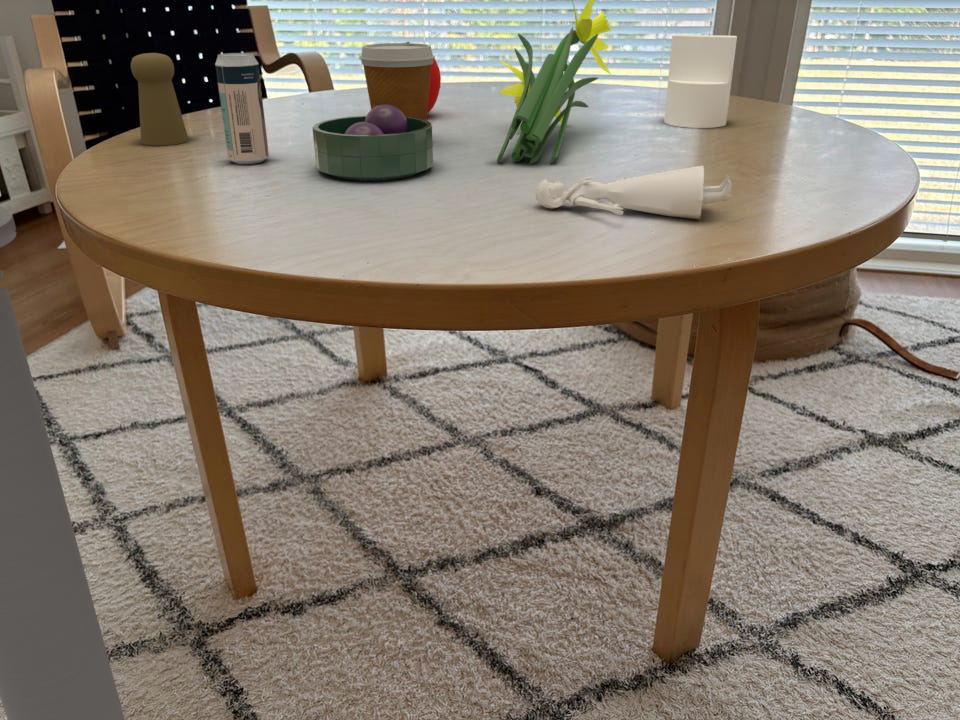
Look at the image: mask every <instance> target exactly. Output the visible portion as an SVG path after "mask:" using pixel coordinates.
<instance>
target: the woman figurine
mask: <svg viewBox="0 0 960 720" xmlns="http://www.w3.org/2000/svg"><path fill="white" fill-rule="evenodd" d="M725 176H726V177H725V179H723V181H722V182H721V184H720V185H708V186H707V185H706V186H705V185H704V182H705V181H704V180H705V166H704V165H698V166H697V165H696V166H692V167H691V166H690V167H685V168H679V169H672V170H666V171H660V172H656V173H650V174H649V173H648V174H644V175H638V176H633V177H623V178H620V179H618V180H615V181H611V182H608V183H603V182H597V181H594V180H592V179H595V176H594V177H593V176H586V177H584V178H581V179H579V180H578V181H576V182H575V183H574V184H573V185H571V186H569V188H567V189H565V184H564V183H562V182H560V181H559V180H556V181H555V182H549V181H548V180H547V178H544V179H543V180H541V181H539V184H538V186H537V188H536V189H535V192H534V193H535V194H534V195H535V199H536V201H537V202H538V204H540V205H541V206H543V207H544V208H545V209H551V210H552V209H557V208H559V207H561V206H563V205H564V204H565V203H566V202H567V201H569V203H570V204H571V205H572V206H573V207H581V206H583V207H584V206H585V207H589V208H593V209H598V210H599V209H600V210H604V211H608V212H611V213H613V214H615V215H617V216H621V215H624V212H625V211H624V209H628V210H633V211H639V212H644V213H649V214H654V215H660V216H667V217H674V218H683V219H690V220H699V221H700V220H701V215H702V209H703V206H704V205H710V204H714V203H718V202H726V201H729V200H731V199H732V194H730V193H731V191H732V182H731V178H730V176H729V175H728V174H725ZM601 200H607V201H609V202H610V203H611V204H612V205H608V204H605V203H601V202H600V201H601Z"/></svg>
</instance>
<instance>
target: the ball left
mask: <svg viewBox="0 0 960 720" xmlns="http://www.w3.org/2000/svg"><path fill="white" fill-rule="evenodd" d="M345 134H348V135H383V134H384V133H383V132H382V130H381V129H380V128H379V127H377V126H376V125H374V124H372V123H369V122H359V123H356V124H353V125H352V126H350V127H349V128H348V129H347V130H346V132H345Z"/></svg>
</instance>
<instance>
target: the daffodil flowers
mask: <svg viewBox="0 0 960 720" xmlns="http://www.w3.org/2000/svg"><path fill="white" fill-rule="evenodd" d="M571 2H572V7H573V11H574V20H575V22H574V23H575V29H574V27H571V29H570V30H569V32H568V33H567V34H566V35H565V36H564V37H563V39H562V40H561V41H560V42H559V44H558V46H557V47H556V49H555V52H554V53H548V54H547V56H546V57H545V59H544V61H543V63H542V65H541V66H540V69H539V71H538V73H537V75H536V76H535V73H534V72H533V61H534V60H533V59H534V58H533V55H534V54H533V53H534V52H533V51H534V50H533V47H532V44H531V43H530V41H528V39H527V38H526V37H524V36H523V35H522V34H520V33H517V35H518V38H519V40H520V42H521V43H522V45H523V47H524V49H525V51H526V54H527V57H528V62H527V61H525V58H524V57H523V55H522V54H521V53H520V52H519V50H518V49H517V48H514V52H515V55H516V57H517V61H518V63H519V65H520V68H521V70H522V71H521V70H519V68H516V67H515V66H513V65H511V64H509V63H508V62H506V61H504V60H502V59H500V58H498V61H499V62H500V63H501V64H502V65H503V66H506V67H507V68H508V69H509V70H510V71H511V72H512V73H513V74H514V75H515V76H516V77H517V78H518V79H519V81H521V82H520V83H516V84H514V85H510V86H508V87H506V88H503V89H502V90H500V91H499V94H500V95H504V96H513V97H514V98H513V103H514V104H516V105H515V107H516V109H515V112H514V115H513V118H512V121H511V123H510V126H509V129H508V132H507V134H506V137H505V139H504V142H503V144H502V147H501V149H500V152H499V154H498V156H497V158H496V163H497V164H499V163H501V161H502V160H503V157H504V155H505V152H506V150H507V147H508V145H509V142H510V140H513V138H514V136H515V134H516V133H517V131H518V128H520V132H521V133H520V135H519V136H518V137H519V138H518V139H517V142H516V143H515V146H514V148H513V150H512V152H511V158H512V161H515V162H518V163H519V162H521V161H522V158H523V156H524V157H526V158H531V159H530V161H529V164H530V165H532V164H534V163H536V162H537V161H538V160H539V158H540V156H541V154H542V153H543V150H544V148H545V146H546V143H547V141H548V139H549V138H550V136H551V135H552V133H553V132H554V130H555V128H556V126H557V125H558V123H560V128H559V132H558V135H557V139H556V143H555V146H554V149H553V152H552V155H551V158H550V161H549V164H550V165H552V164H553V163H555V162H556V161H557V159H558V155H559V153H560V149H561V145H562V143H563V140H564V137H565V133H566V129H567V125H568V121H569V118H570V114H571V110H572V108H574V107H577V108H589V105H588V104H587V103H585V102H584V101H581V100H575V101H574V99H575V96H576V91H578V90H579V89H581V88H582V87H584V86H587V85H589V84H590V83H592V82H595V81H597V80H598V79H599V77H593V76H592V77H585V78H581V79H579V80H577V81H575V78H574V77H575V76H576V74H577V72H578V70H579V69H580V67H581V65H582V64H583V62H584V60H585V59H586V57H587V55H588V54H589V53H590V54H592V57H593V58H594V60H595V62H596V63H597V65H598V66H599V67H600V68H601V69H602V70H603V71H604V72H606V73H607V74H609V76H611V75H612V74H611V72H610V70H609V69H608V66H607V65H606V63H605V61H604V60H603V59H602V57H601V56H600V54H599V52H598V51H605V50H607V49H609V45H608V44H606V43H605V41H603V40H602V39H601V38H599V37H598V36H599V34H603V33H607V32H612V29H611V26H610V23H608V22H609V21H608V19H607V15H606V12H605V11H601V13H600V14H598V15H597V16H596V17H594V18H593V19H591V16H592V9H593V6H594V3H595V0H588V1H587V3H586V4H585V6H584V7H583V9H582V11H581V12H580V15H579V17H578V13H577V10H576V7H575V3H574V0H571ZM578 43H581V44H582V45H581V47H580V48H579V49H578V50H577V51H576V53H575V54H574V55H573V57H572V58H571V60H570V62H569V63H568V60H569V56H570V51H571V47H572V46H574V45H576V44H578ZM567 63H568V64H567ZM566 102H567V104H566V107H565V108H563V110H562V111H561V108H562V107H563V105H564V104H565V103H566ZM554 118H555V119H554ZM553 119H554V120H553ZM552 121H553V122H552Z"/></svg>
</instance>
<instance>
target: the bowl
mask: <svg viewBox="0 0 960 720" xmlns="http://www.w3.org/2000/svg"><path fill="white" fill-rule="evenodd" d="M366 116H367V115H354V116H344V117H335V118H331V119H326V120H325V119H324V120H322V121H319V122H316V123H315V124H314V125H313V126H312V139H313V148H314V159H315V160H314V161H315V167H316V169H317V170H318V171H319V172H320V173H321V172H322V173H325V174H328V175H330V176H332V177H335V178H338V179H342V180H350V181H360V182H361V181H362V182H363V181H364V182H365V181H366V182H367V181H368V182H369V181H370V182H373V181H374V182H375V181H377V182H378V181H392V180H398V179H404V178H405V179H406V178H408V177H412V176H415V175H417V174H419V173H422V172H423V171H427V170H428V169H430V168H431V167H433V165H434V149H433V148H434V143H433V142H434V141H433V123H432V122H431V121H429V120H424V119H420V118H415V117H406V116H405V117H406V120H407V123H408V132H404V133H397V134H383V135H348V134H345V132H346V130H347V129H348V128H349V127H350V126H352V125H353V124H356V123H359V122H365V119H366Z"/></svg>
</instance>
